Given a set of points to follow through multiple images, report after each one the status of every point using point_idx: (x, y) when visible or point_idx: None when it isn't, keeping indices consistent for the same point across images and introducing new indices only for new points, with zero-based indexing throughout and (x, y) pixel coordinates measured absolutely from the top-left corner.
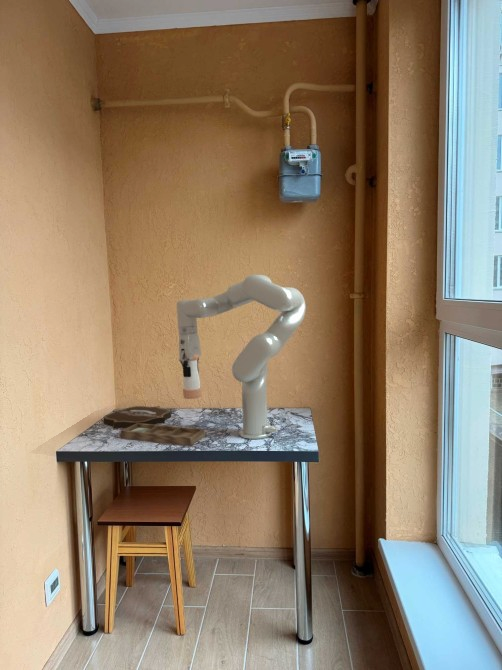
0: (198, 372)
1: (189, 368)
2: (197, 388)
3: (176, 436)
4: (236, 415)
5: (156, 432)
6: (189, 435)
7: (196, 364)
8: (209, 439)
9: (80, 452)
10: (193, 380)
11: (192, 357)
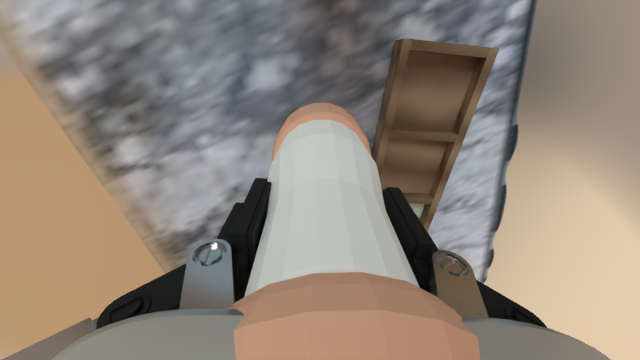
0: (256, 181)
1: (426, 235)
2: (341, 123)
3: (476, 103)
4: (123, 18)
5: (398, 185)
6: (424, 83)
7: (330, 222)
8: (419, 12)
9: (492, 260)
10: (371, 157)
11: (526, 353)
